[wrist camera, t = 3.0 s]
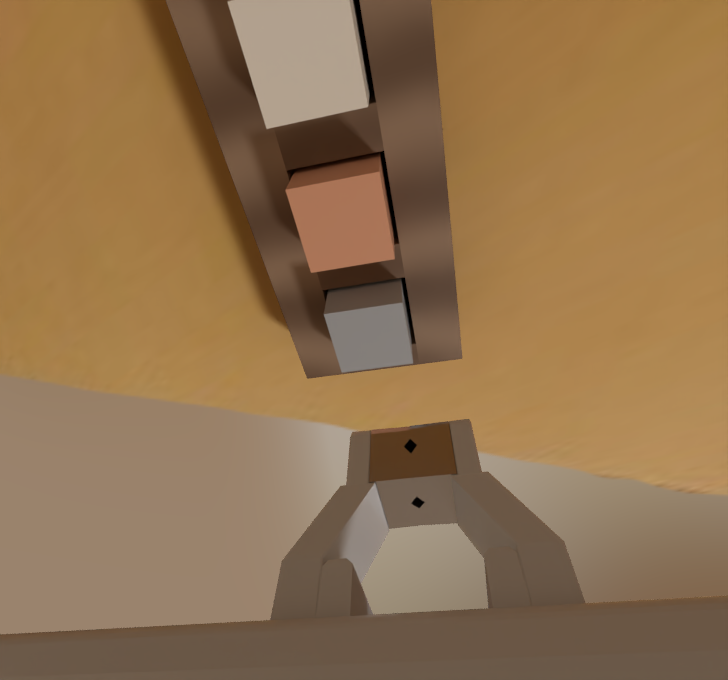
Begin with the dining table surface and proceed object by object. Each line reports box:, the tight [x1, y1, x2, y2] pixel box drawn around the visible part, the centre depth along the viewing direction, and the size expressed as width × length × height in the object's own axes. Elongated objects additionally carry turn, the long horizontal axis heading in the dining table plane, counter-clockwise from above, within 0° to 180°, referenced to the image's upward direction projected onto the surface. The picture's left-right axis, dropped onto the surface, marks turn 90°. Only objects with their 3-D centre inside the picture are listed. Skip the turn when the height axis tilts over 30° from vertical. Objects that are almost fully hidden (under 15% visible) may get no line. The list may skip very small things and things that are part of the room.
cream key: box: [228, 0, 370, 129], centre depth 21 cm, size 5×5×4 cm
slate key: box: [324, 278, 413, 373], centre depth 31 cm, size 5×5×4 cm
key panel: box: [166, 0, 462, 379], centre depth 28 cm, size 26×12×4 cm, turn 11°
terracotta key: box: [286, 151, 395, 273], centre depth 26 cm, size 5×5×4 cm
